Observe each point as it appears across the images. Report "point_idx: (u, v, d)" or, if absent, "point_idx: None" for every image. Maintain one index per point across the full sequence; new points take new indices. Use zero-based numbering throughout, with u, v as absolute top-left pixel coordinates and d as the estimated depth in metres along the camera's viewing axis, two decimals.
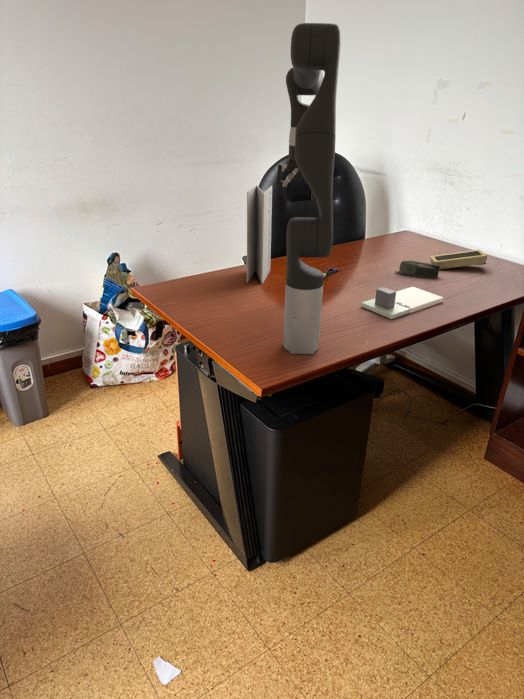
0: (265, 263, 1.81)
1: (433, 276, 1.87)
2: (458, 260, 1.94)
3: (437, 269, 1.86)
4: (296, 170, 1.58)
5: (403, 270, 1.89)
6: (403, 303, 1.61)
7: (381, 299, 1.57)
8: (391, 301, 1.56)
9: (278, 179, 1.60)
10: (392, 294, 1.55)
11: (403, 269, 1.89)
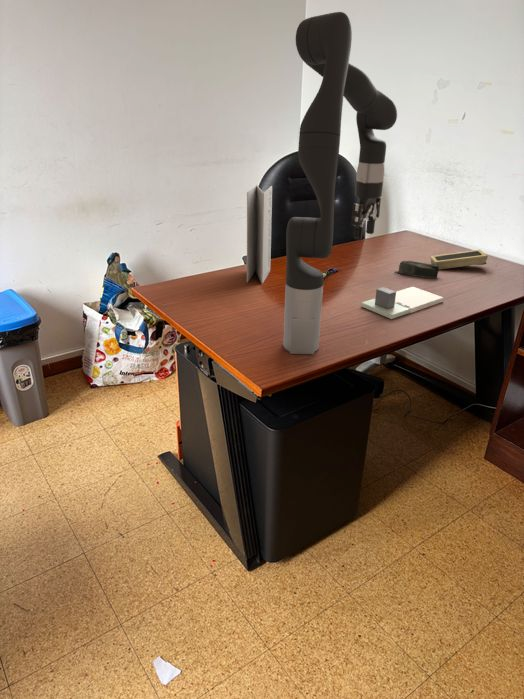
0: (265, 263, 1.81)
1: (432, 276, 1.86)
2: (458, 260, 1.94)
3: (436, 269, 1.85)
4: None
5: (403, 270, 1.89)
6: (403, 303, 1.61)
7: (381, 299, 1.57)
8: (391, 301, 1.56)
9: None
10: (392, 294, 1.55)
11: (402, 269, 1.89)
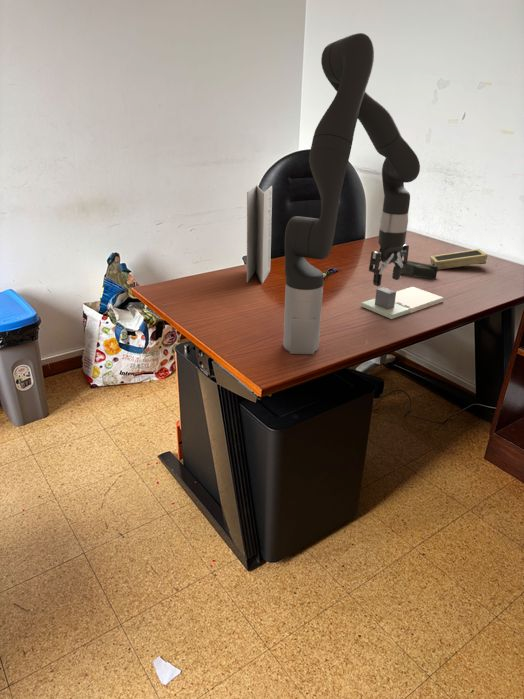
0: (265, 263, 1.81)
1: (431, 277, 1.86)
2: (459, 260, 1.94)
3: (435, 270, 1.85)
4: None
5: (401, 270, 1.89)
6: (403, 303, 1.61)
7: (381, 299, 1.57)
8: (391, 301, 1.56)
9: None
10: (392, 294, 1.55)
11: (401, 269, 1.89)
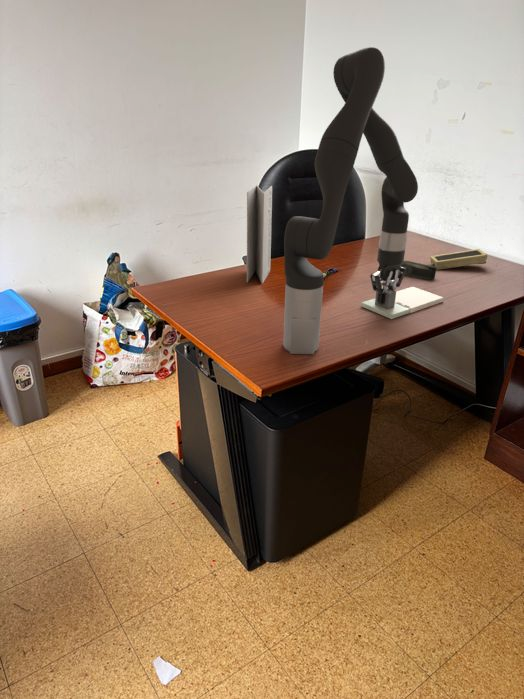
0: (265, 263, 1.81)
1: (429, 277, 1.85)
2: (459, 260, 1.94)
3: (433, 271, 1.84)
4: None
5: None
6: (403, 303, 1.61)
7: None
8: (391, 301, 1.56)
9: None
10: (392, 294, 1.55)
11: None
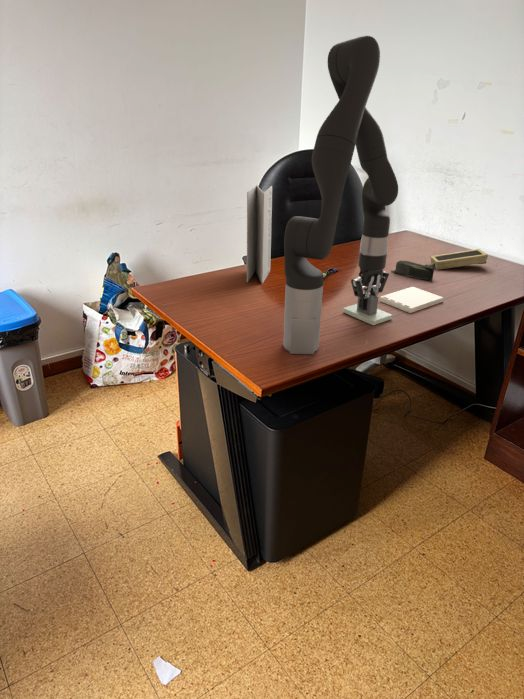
0: (265, 263, 1.81)
1: (426, 278, 1.85)
2: (459, 260, 1.94)
3: (430, 271, 1.83)
4: None
5: (398, 269, 1.90)
6: (403, 303, 1.61)
7: None
8: (373, 307, 1.52)
9: None
10: (374, 299, 1.51)
11: (398, 268, 1.90)
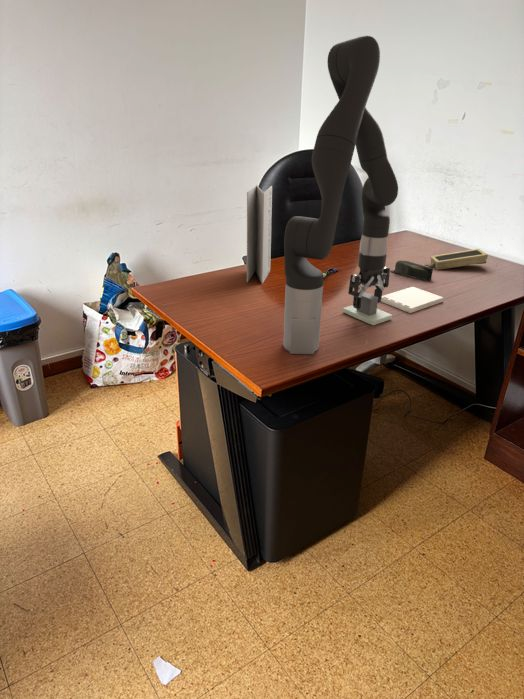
0: (265, 263, 1.81)
1: (424, 278, 1.84)
2: (459, 260, 1.94)
3: (428, 272, 1.83)
4: None
5: (398, 269, 1.90)
6: (403, 303, 1.61)
7: (363, 305, 1.53)
8: (373, 307, 1.52)
9: None
10: (374, 299, 1.50)
11: (397, 268, 1.90)
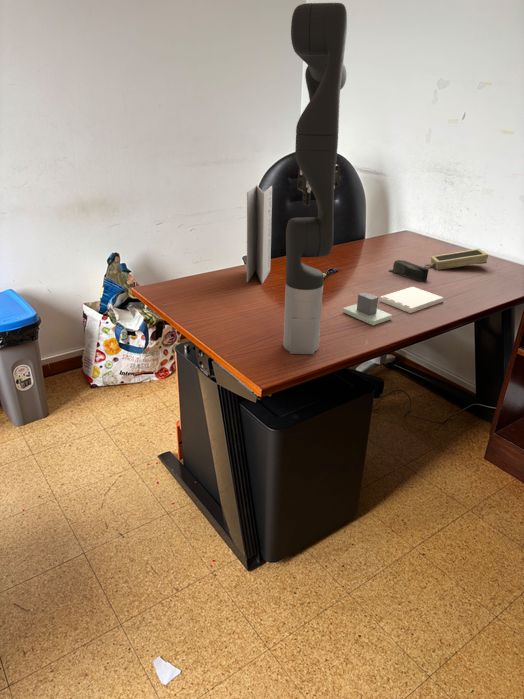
0: (265, 263, 1.81)
1: (419, 279, 1.84)
2: (460, 260, 1.94)
3: (423, 272, 1.82)
4: None
5: (395, 269, 1.91)
6: (403, 303, 1.61)
7: (363, 305, 1.53)
8: (373, 307, 1.52)
9: None
10: (374, 299, 1.50)
11: (395, 268, 1.91)
